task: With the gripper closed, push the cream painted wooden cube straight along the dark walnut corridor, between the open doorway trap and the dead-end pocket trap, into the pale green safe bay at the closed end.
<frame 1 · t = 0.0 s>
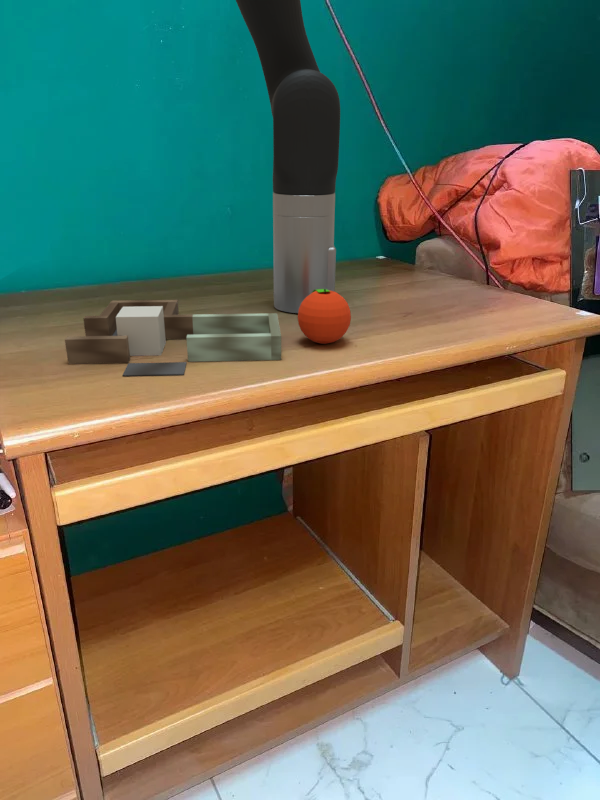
clementine: (322, 342, 84), on the table
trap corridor: (175, 348, 80), on the table
cream block: (143, 349, 80), on the table
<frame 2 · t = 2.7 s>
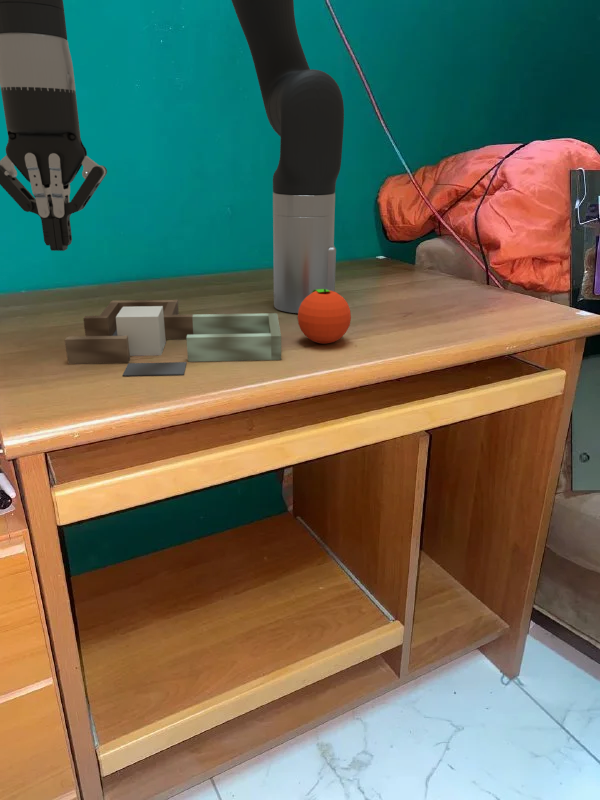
hand: (59, 249, 74), 12 cm above the table, fingers closed
nothing on the table moved.
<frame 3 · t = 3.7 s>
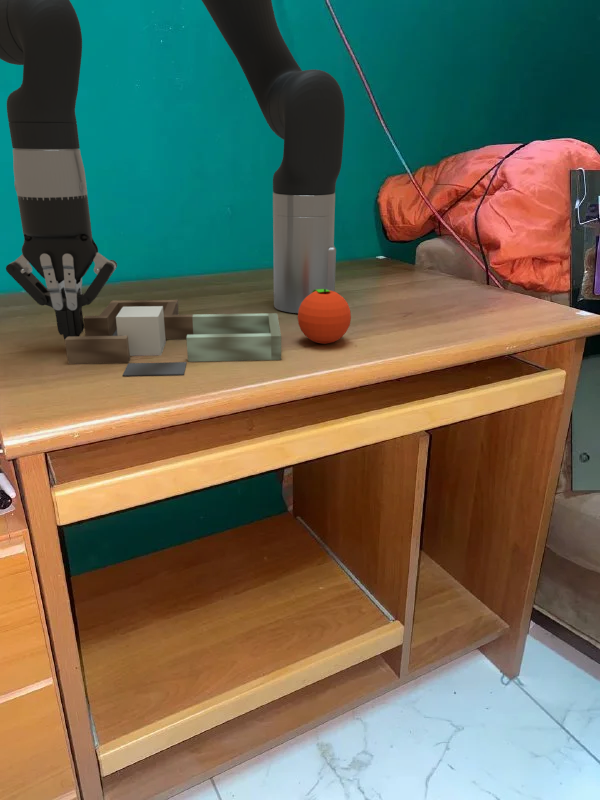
hand: (72, 337, 79), 2 cm above the table, fingers closed
nothing on the table moved.
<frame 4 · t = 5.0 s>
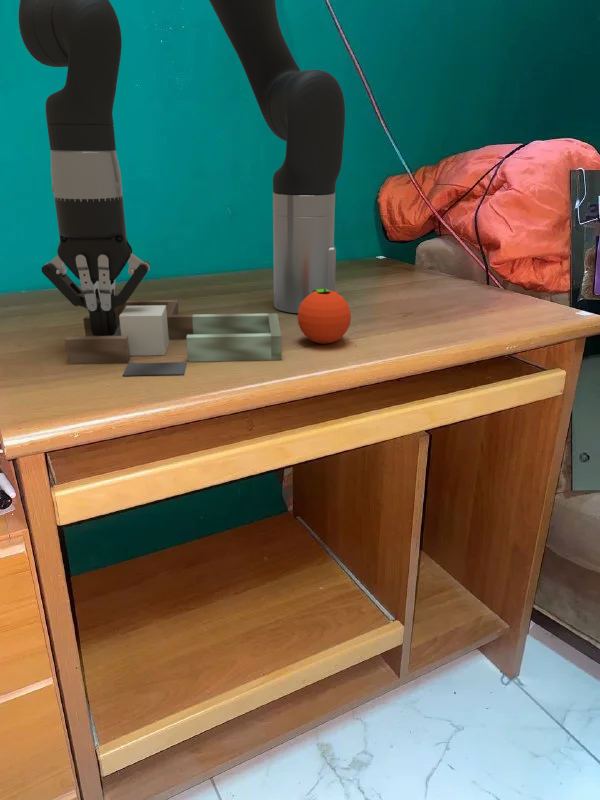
hand: (104, 338, 79), 1 cm above the table, fingers closed
cream block: (146, 349, 80), on the table, touching gripper
everything else where it was.
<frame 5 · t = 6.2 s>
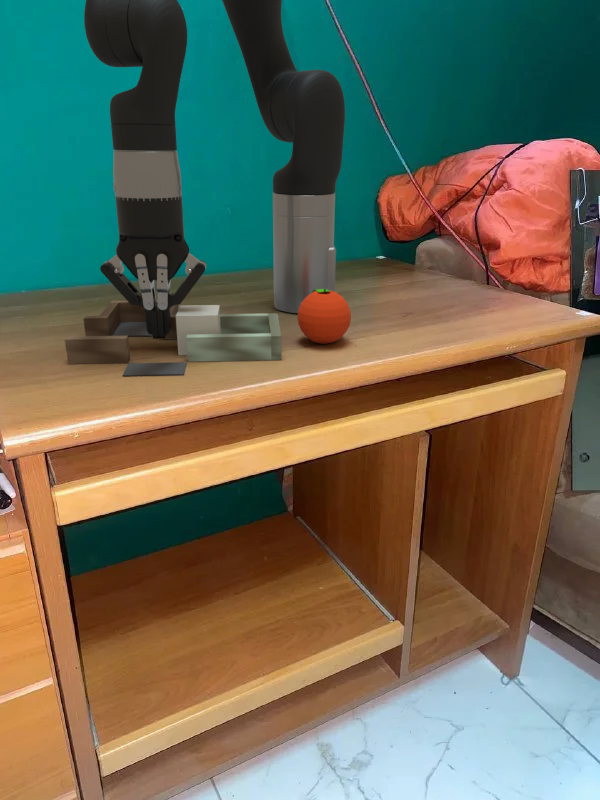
hand: (159, 336, 79), 2 cm above the table, fingers closed
cream block: (200, 348, 80), on the table, touching gripper
everything else where it was.
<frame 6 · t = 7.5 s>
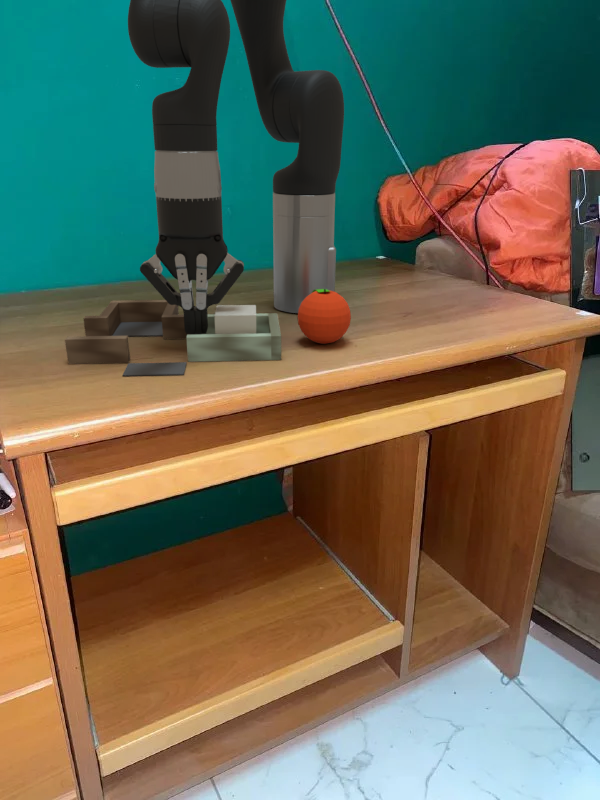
hand: (196, 336, 80), 2 cm above the table, fingers closed
cream block: (236, 348, 80), on the table, touching gripper
everything else where it was.
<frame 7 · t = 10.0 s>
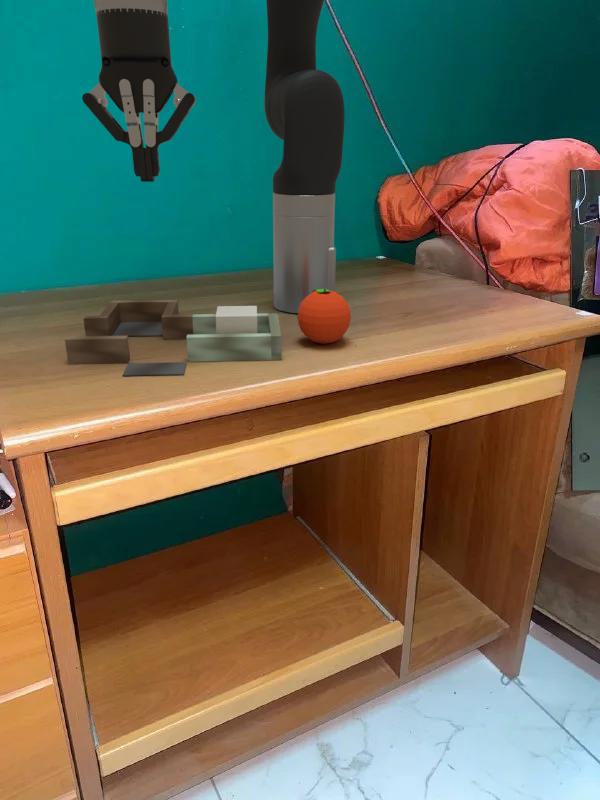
hand: (147, 181, 75), 20 cm above the table, fingers closed
cream block: (238, 349, 80), on the table
everything else where it was.
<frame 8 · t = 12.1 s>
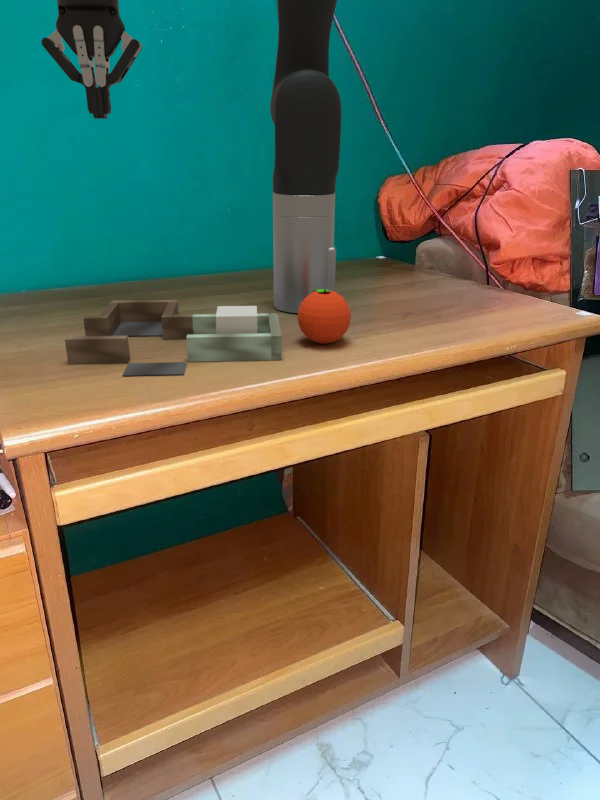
hand: (100, 118, 85), 27 cm above the table, fingers closed
nothing on the table moved.
at the end: cream block inside the target area (0.6 cm from its centre), on the table; cream block tilted 0°; cream block moved 11.9 cm from its start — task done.
